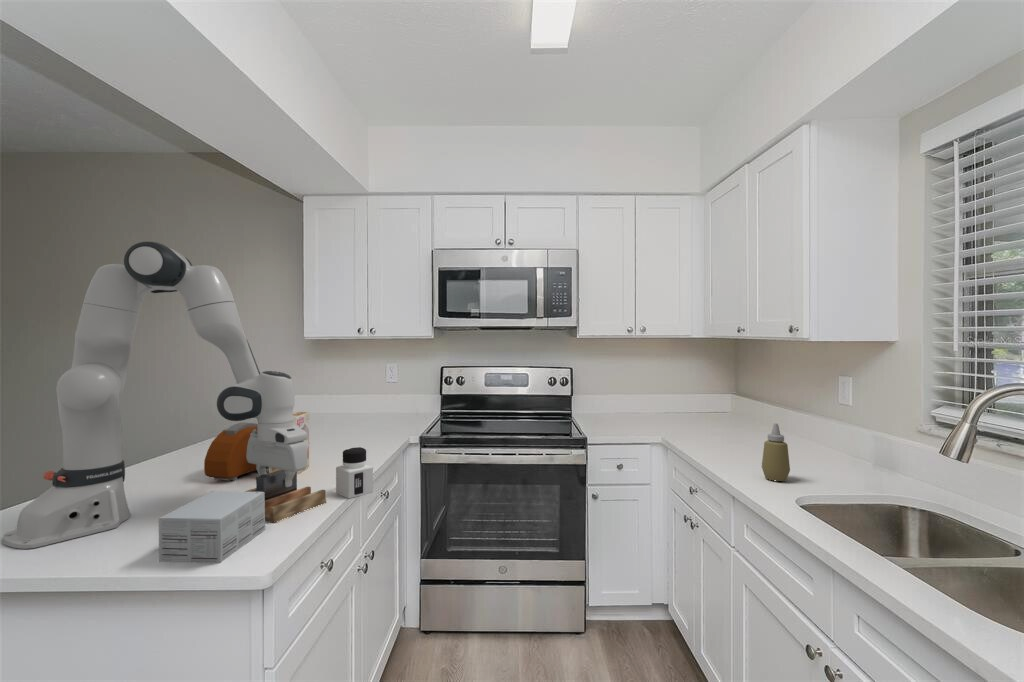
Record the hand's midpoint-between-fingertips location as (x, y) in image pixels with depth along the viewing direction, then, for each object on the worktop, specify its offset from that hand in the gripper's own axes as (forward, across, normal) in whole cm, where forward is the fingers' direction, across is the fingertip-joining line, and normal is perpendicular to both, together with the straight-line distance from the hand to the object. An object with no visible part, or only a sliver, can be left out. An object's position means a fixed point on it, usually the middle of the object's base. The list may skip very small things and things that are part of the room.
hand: (275, 483), depth 130 cm
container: (+6, +10, +18) cm, 22 cm away
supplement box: (+7, +9, -22) cm, 25 cm away
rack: (+6, 0, 0) cm, 6 cm away
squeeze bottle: (+5, +120, +91) cm, 150 cm away
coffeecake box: (+6, -24, +23) cm, 34 cm away
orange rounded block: (+7, -38, +16) cm, 42 cm away
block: (+5, 0, 0) cm, 5 cm away
